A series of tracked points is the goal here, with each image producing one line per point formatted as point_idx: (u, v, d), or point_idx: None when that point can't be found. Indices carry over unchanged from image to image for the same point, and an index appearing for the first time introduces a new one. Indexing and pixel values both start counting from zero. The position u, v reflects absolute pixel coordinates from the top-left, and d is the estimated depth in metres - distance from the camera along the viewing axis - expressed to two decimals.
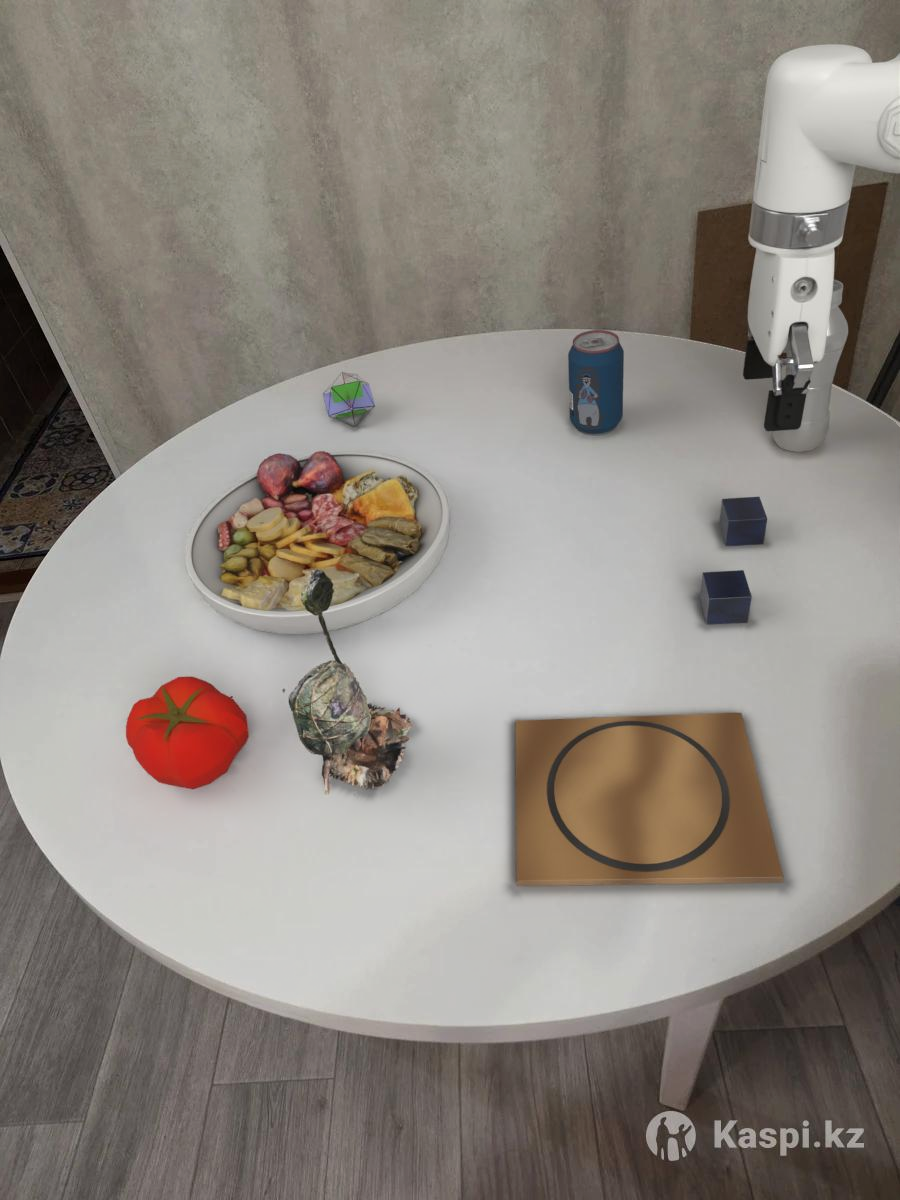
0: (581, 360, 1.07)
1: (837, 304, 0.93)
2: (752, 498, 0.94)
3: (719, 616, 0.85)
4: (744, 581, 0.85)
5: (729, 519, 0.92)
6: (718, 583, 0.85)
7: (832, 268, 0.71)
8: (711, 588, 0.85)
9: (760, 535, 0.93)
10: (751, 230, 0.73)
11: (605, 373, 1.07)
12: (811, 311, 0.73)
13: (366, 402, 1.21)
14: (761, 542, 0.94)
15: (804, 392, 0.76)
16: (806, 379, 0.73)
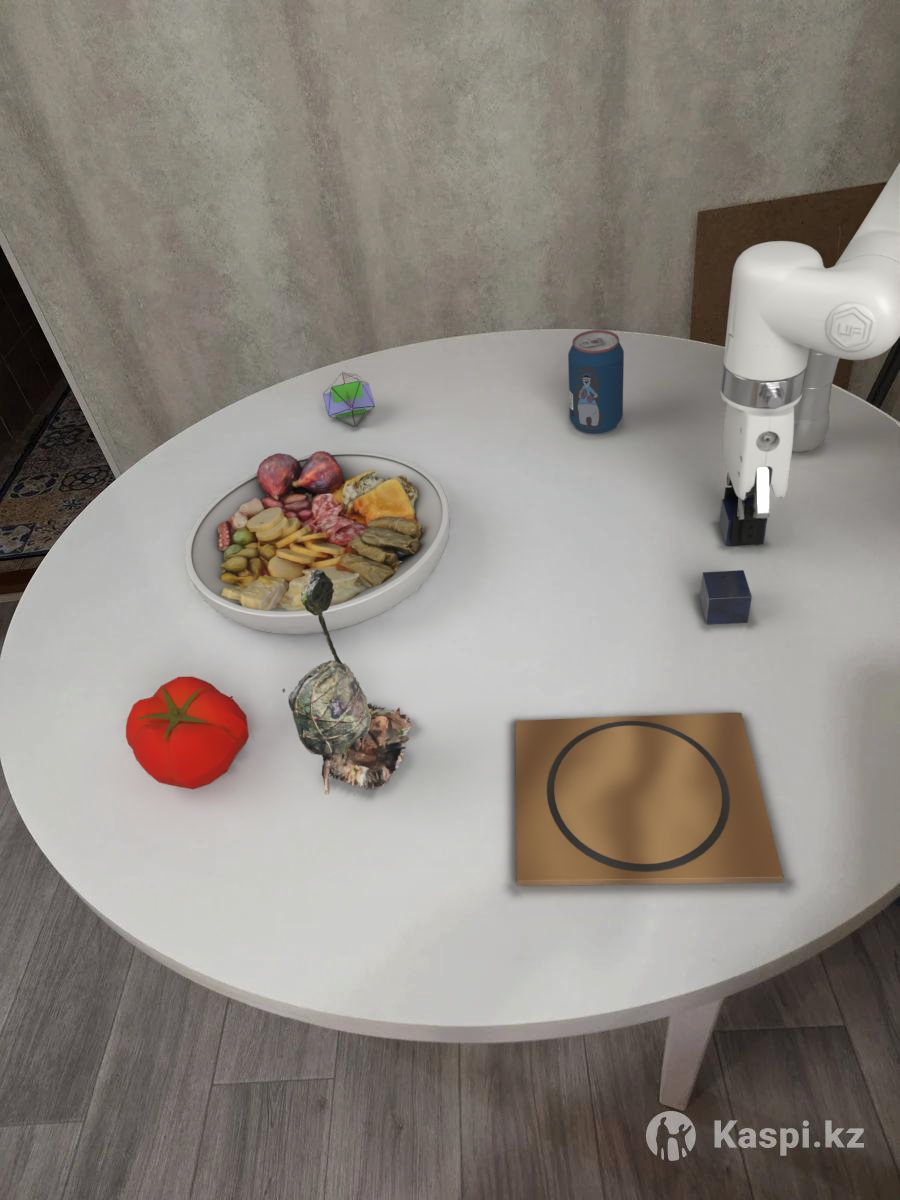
0: (581, 360, 1.07)
1: None
2: (752, 498, 0.94)
3: (719, 616, 0.85)
4: (744, 581, 0.85)
5: (729, 519, 0.92)
6: (718, 583, 0.85)
7: (792, 424, 0.81)
8: (711, 588, 0.85)
9: None
10: (722, 387, 0.83)
11: (605, 373, 1.07)
12: (774, 458, 0.83)
13: (366, 402, 1.21)
14: None
15: (763, 518, 0.90)
16: None
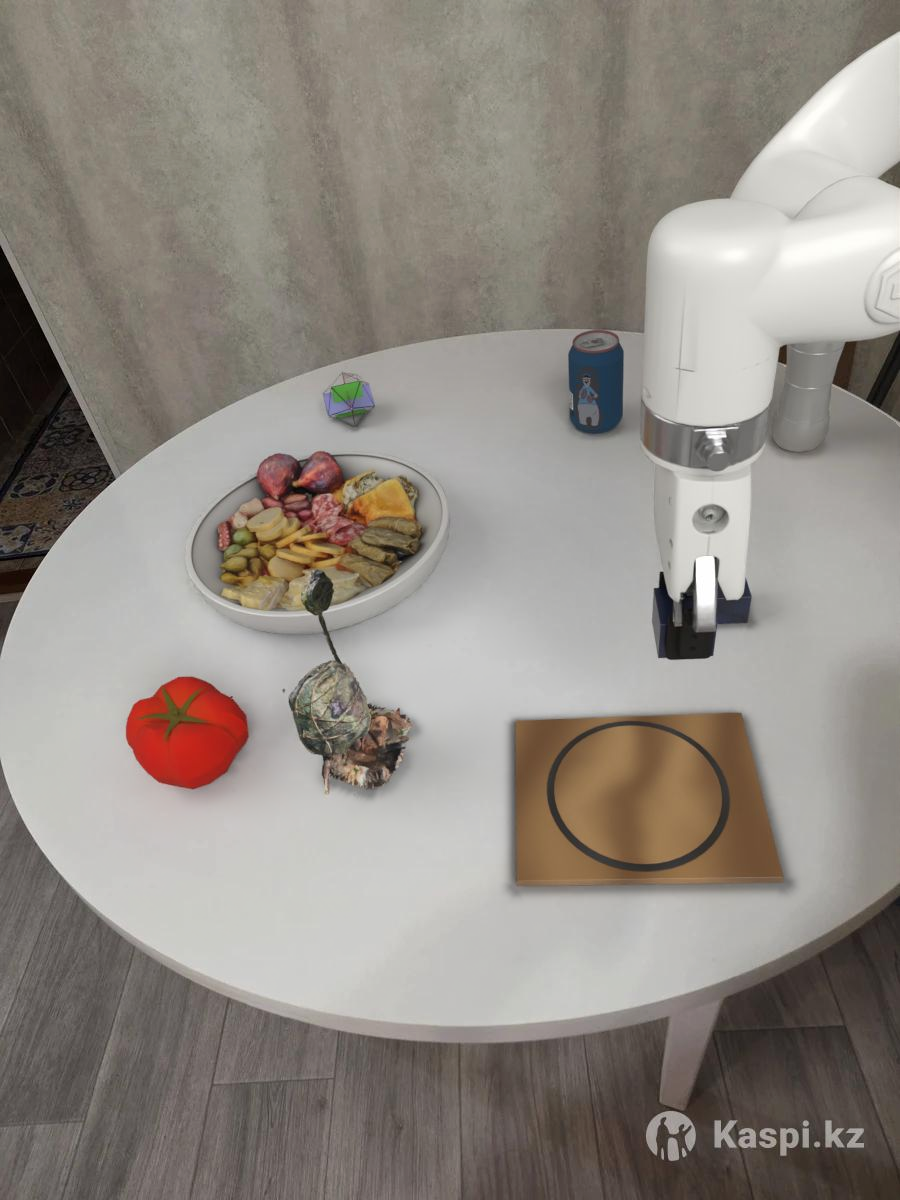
0: (581, 360, 1.07)
1: None
2: None
3: (719, 616, 0.85)
4: None
5: (661, 622, 0.62)
6: (718, 583, 0.85)
7: (748, 493, 0.51)
8: None
9: None
10: (641, 432, 0.53)
11: (605, 373, 1.07)
12: (722, 545, 0.53)
13: (366, 402, 1.21)
14: None
15: None
16: None
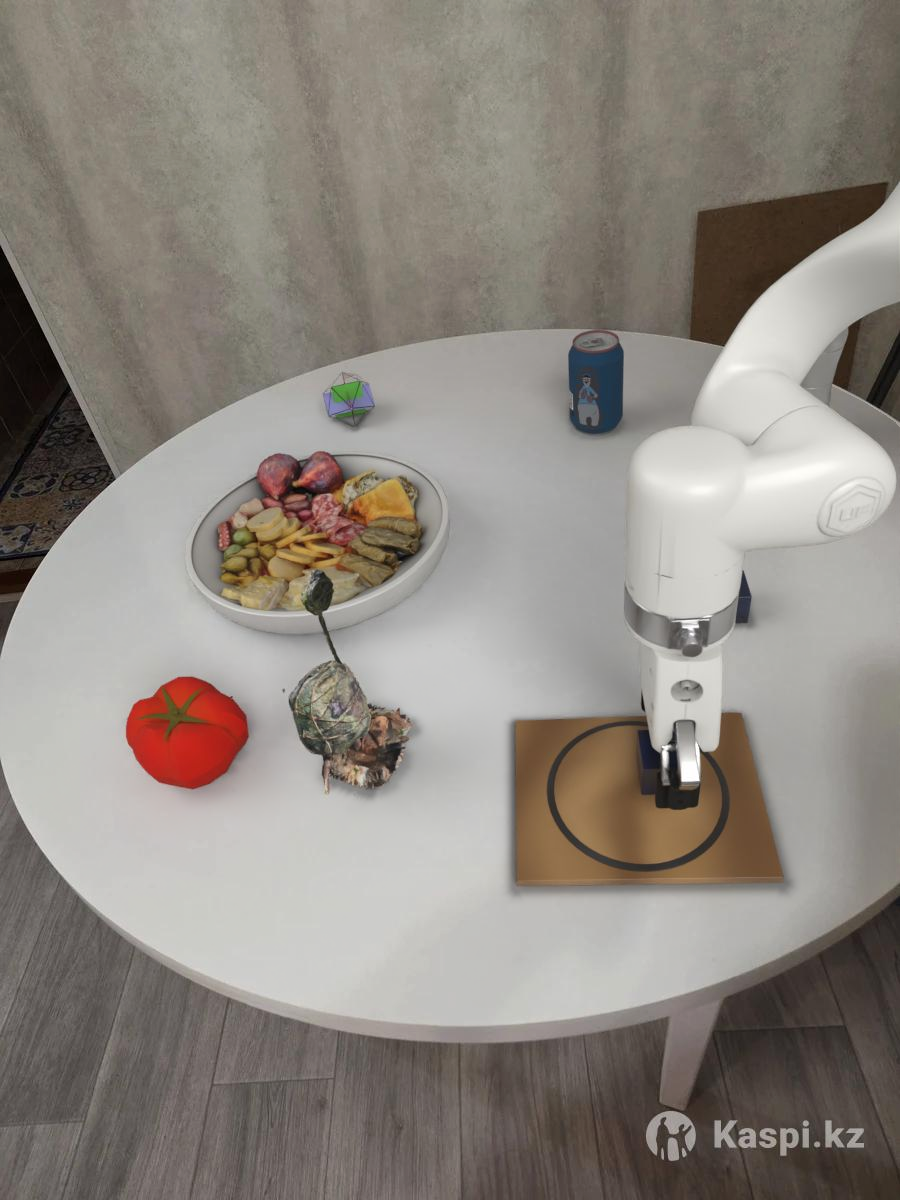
0: (581, 360, 1.07)
1: None
2: None
3: None
4: (744, 581, 0.85)
5: (644, 767, 0.69)
6: None
7: (720, 670, 0.58)
8: None
9: None
10: (625, 609, 0.60)
11: (605, 373, 1.07)
12: (697, 711, 0.59)
13: (366, 402, 1.21)
14: None
15: None
16: (693, 788, 0.60)
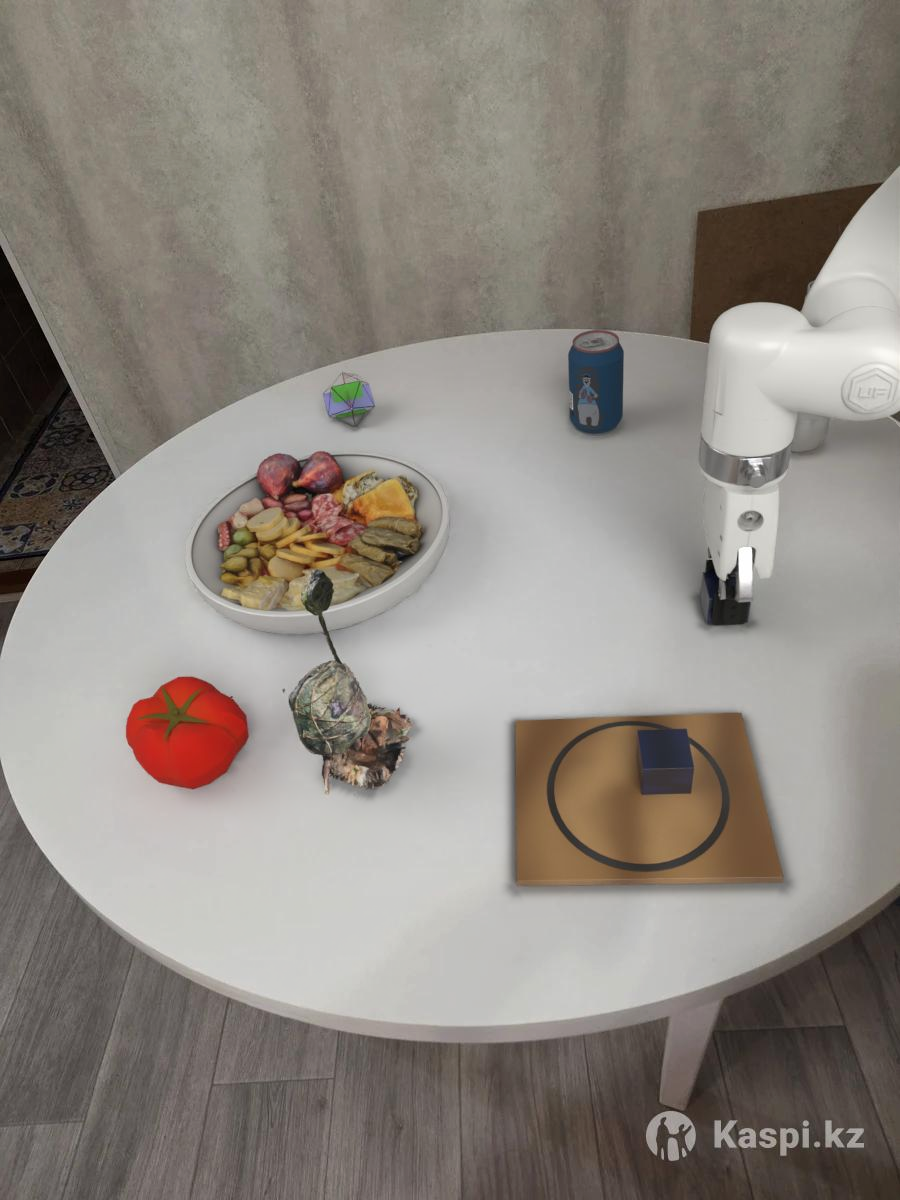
0: (581, 360, 1.07)
1: None
2: (677, 731, 0.71)
3: None
4: None
5: (644, 767, 0.69)
6: (718, 583, 0.85)
7: (777, 502, 0.73)
8: (711, 588, 0.85)
9: (686, 784, 0.70)
10: (700, 459, 0.75)
11: (605, 373, 1.07)
12: (758, 539, 0.75)
13: (366, 402, 1.21)
14: (688, 792, 0.71)
15: None
16: None
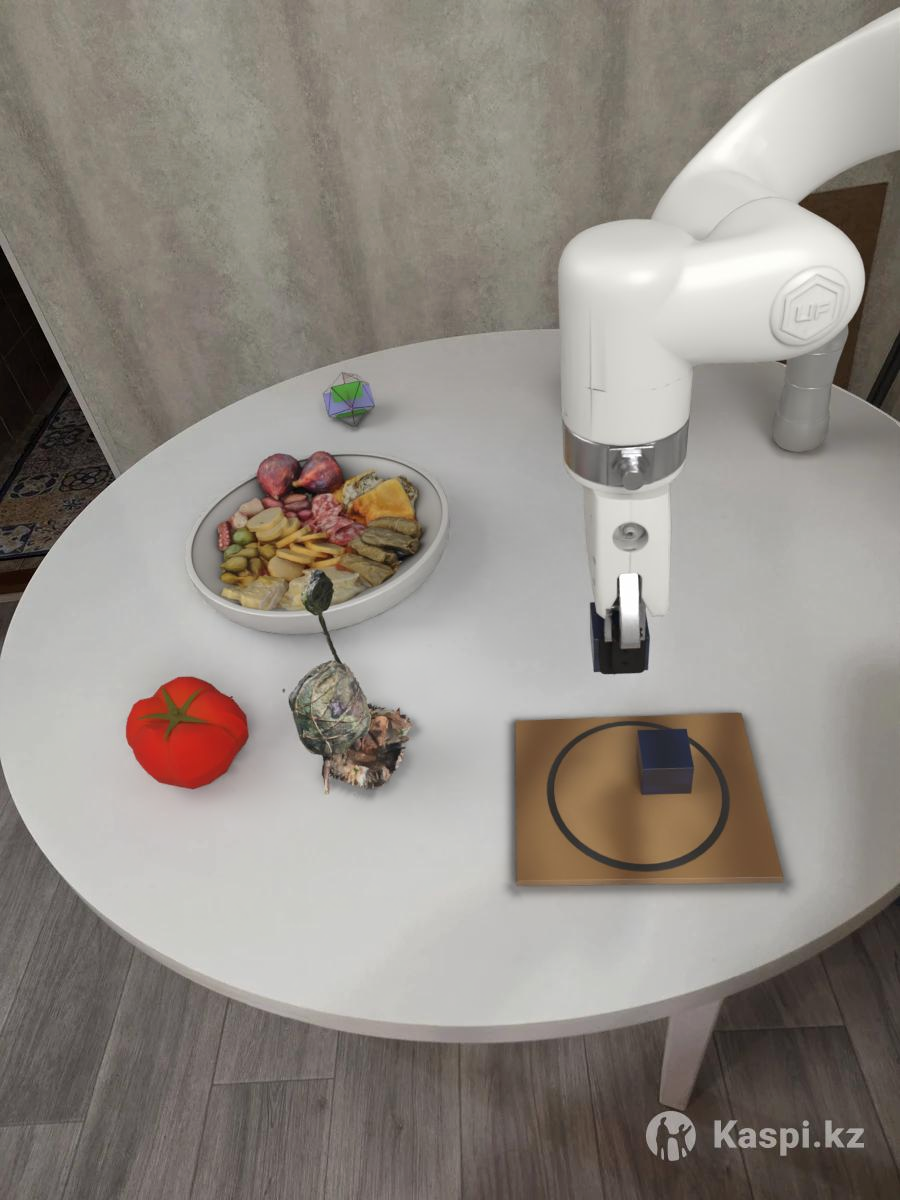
0: None
1: None
2: (677, 731, 0.71)
3: None
4: None
5: (644, 767, 0.69)
6: None
7: (667, 511, 0.51)
8: (597, 624, 0.63)
9: (686, 784, 0.70)
10: (563, 450, 0.53)
11: None
12: (643, 562, 0.53)
13: (366, 402, 1.21)
14: (688, 792, 0.71)
15: (640, 640, 0.60)
16: None
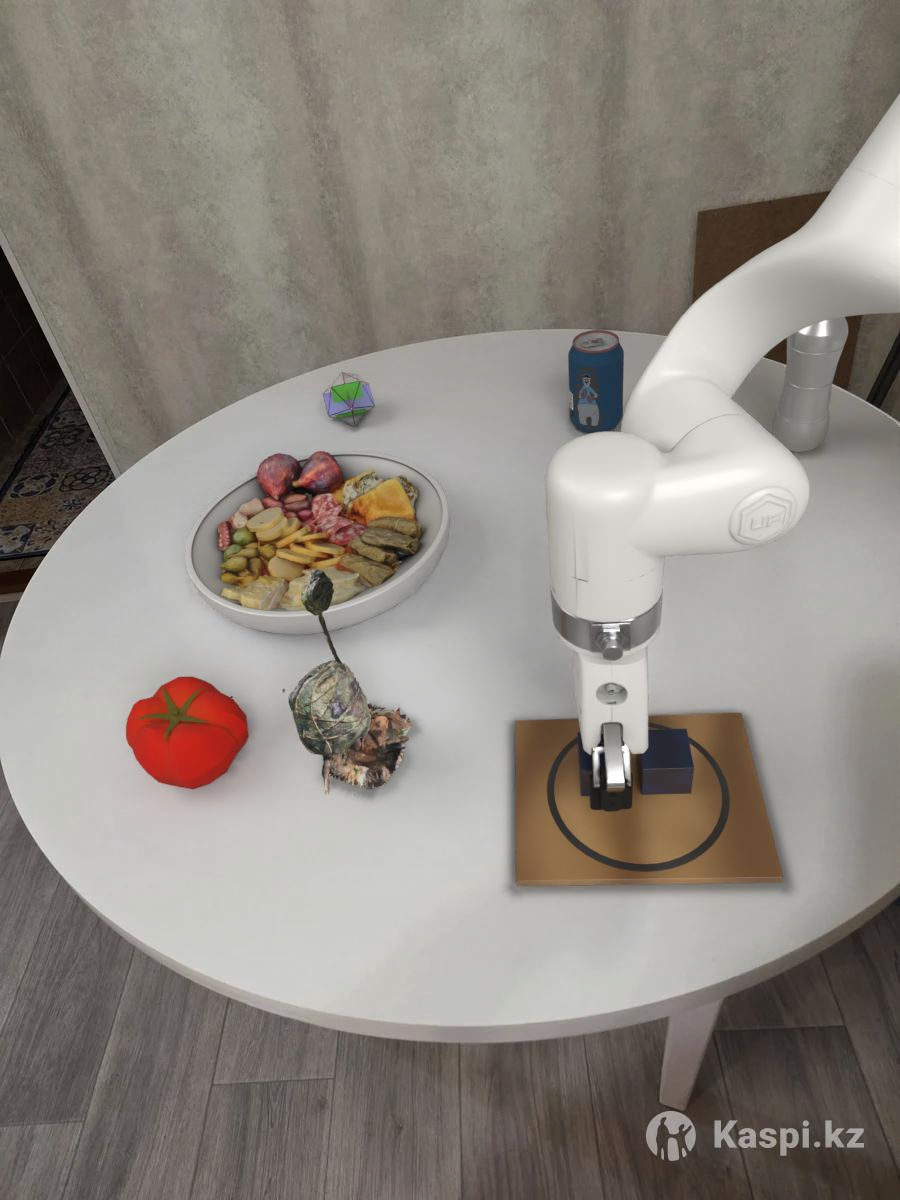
0: (581, 360, 1.07)
1: None
2: (677, 731, 0.71)
3: None
4: None
5: (644, 767, 0.69)
6: None
7: (643, 673, 0.58)
8: (584, 755, 0.71)
9: (686, 784, 0.70)
10: (552, 613, 0.60)
11: (605, 373, 1.07)
12: (623, 713, 0.60)
13: (366, 402, 1.21)
14: (688, 792, 0.71)
15: None
16: (621, 790, 0.61)
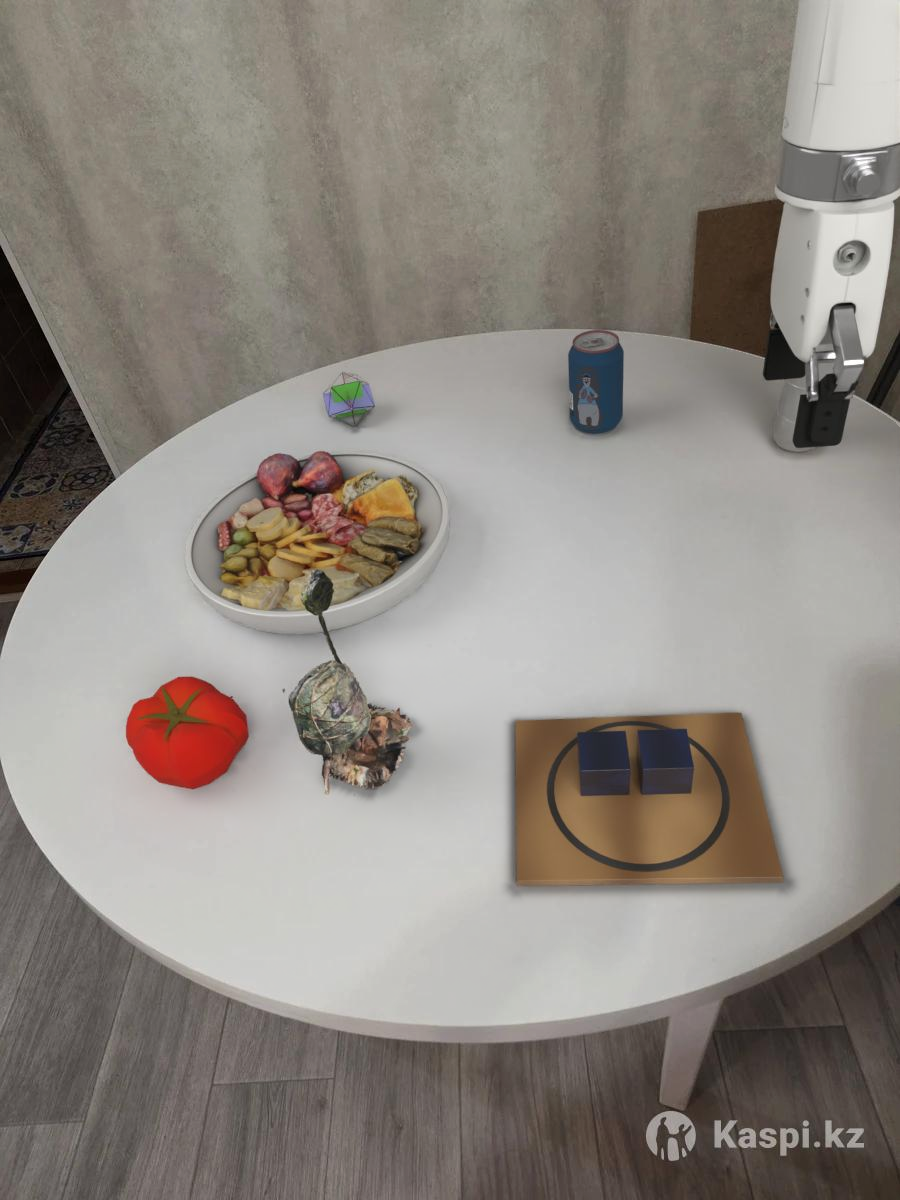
0: (581, 360, 1.07)
1: None
2: (677, 731, 0.71)
3: (594, 788, 0.71)
4: (624, 746, 0.71)
5: (644, 767, 0.69)
6: (593, 748, 0.71)
7: (891, 228, 0.52)
8: (584, 755, 0.71)
9: (686, 784, 0.70)
10: (779, 179, 0.54)
11: (605, 373, 1.07)
12: (860, 288, 0.54)
13: (366, 402, 1.21)
14: (688, 792, 0.71)
15: (848, 397, 0.57)
16: (853, 380, 0.55)
